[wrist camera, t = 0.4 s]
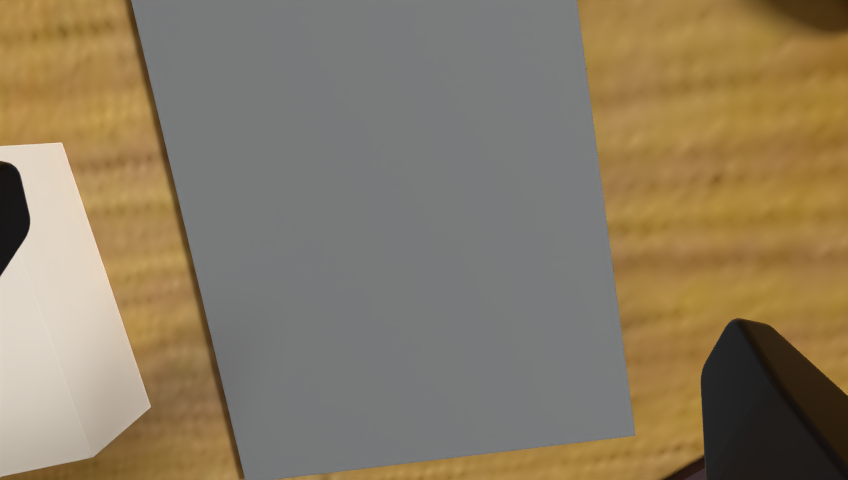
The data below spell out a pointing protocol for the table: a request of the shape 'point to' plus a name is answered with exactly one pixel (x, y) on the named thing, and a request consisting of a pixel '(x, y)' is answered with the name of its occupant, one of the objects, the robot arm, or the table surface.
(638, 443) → the table surface
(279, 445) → the mat
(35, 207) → the block
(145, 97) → the table surface
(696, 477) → the chocolate bar
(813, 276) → the table surface
